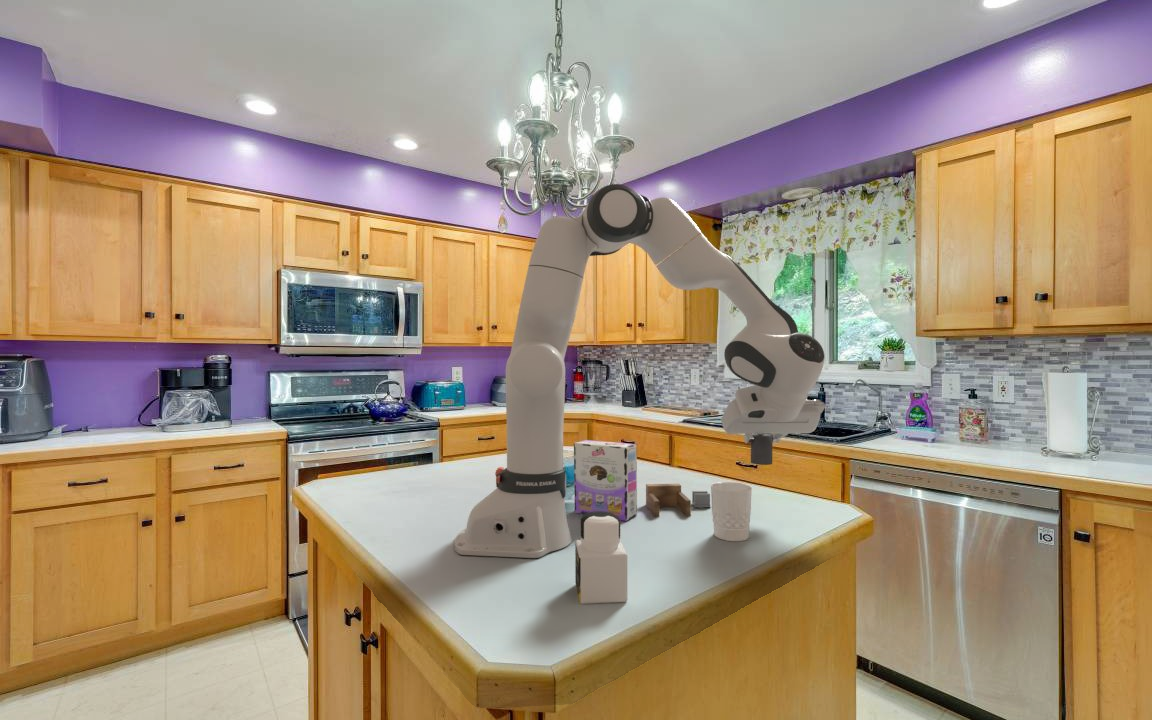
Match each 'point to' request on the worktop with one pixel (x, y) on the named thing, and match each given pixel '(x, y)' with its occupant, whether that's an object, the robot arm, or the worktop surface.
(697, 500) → the clip
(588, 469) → the candy box
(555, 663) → the worktop surface
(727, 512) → the white cup
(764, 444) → the plug
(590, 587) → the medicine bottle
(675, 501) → the frame
